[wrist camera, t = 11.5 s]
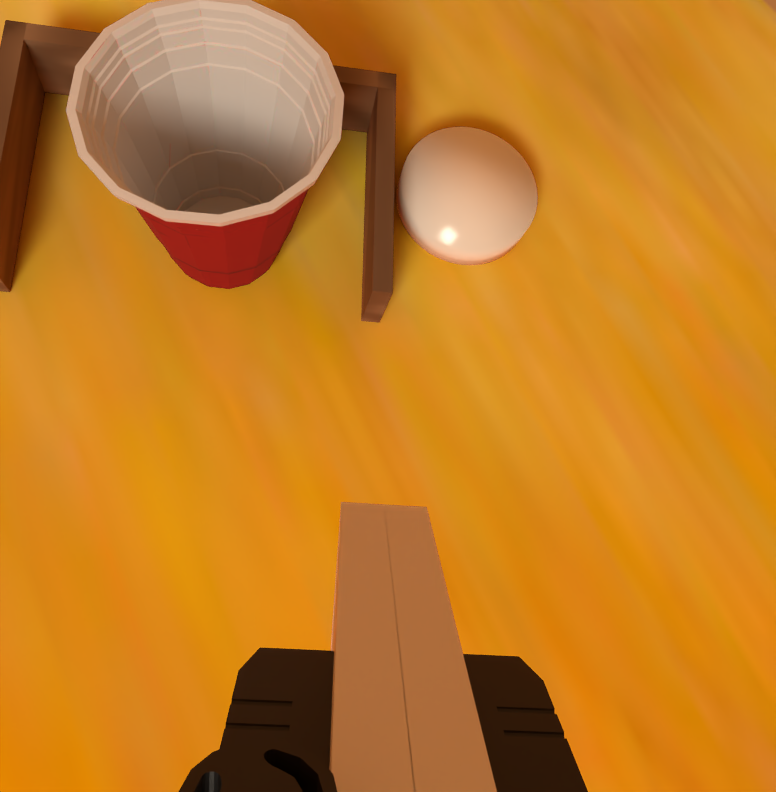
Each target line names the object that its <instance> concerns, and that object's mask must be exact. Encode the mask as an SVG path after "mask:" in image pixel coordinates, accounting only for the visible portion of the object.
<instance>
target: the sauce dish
mask: <svg viewBox="0 0 776 792" xmlns="http://www.w3.org/2000/svg"><path fill="white" fill-rule="evenodd" d="M537 200H538V194H537V186H536V182H535V179H534V176H533V174H532V171H531V169H530V168H529V166H528V164H527V163H526V161H525V160H524V158H523V157H522V156H521V155H520V154H519V152H518V151H517V150H516V149H515V148H513V147H512V146H511V145H510V144H509V143H507V142H506V141H505V140H503V139H501V138H500V137H498V136H496V135H494V134H492V133H489V132H487V131H484V130H481V129H477V128H471V127H450V128H444V129H441V130H438V131H435V132H433V133H431V134H429V135H427V136H426V137H424V138H423V139H421V140H420V141H419V142H418V143H417V144H416V145H415V146H414V147H413V149H412V150H411V151H410V153H409V155H408V156H407V159H406V161H405V163H404V166H403V169H402V172H401V175H400V178H399V181H398V185H397V191H396V204H397V209H398V213H399V216H400V219H401V221H402V223H403V225H404V227H405V229H406V230H407V232H408V233H409V235H410V236H411V237H412V238H413V239H414V241H415V242H416V243H417V244H419V245H420V246H421V247H422V248H423V249H425V250H426V251H427V252H429V253H430V254H432V255H434V256H436V257H437V258H440V259H442V260H445V261H448V262H451V263H455V264H461V265H480V264H485V263H489V262H492V261H494V260H497V259H499V258H501V257H502V256H504V255H505V254H507V253H508V252H509V251H510V250H511V249H512V248H513V247H514V246H515V245H516V244H517V243H518V241H519V240H520V238H521V237H522V236H523V234H524V233H525V232H526V230H527V229H528V227H529V226H530V224H531V222H532V221H533V219H534V216H535V213H536V208H537Z"/></svg>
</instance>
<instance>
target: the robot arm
mask: <svg viewBox="0 0 776 792" xmlns="http://www.w3.org/2000/svg"><path fill="white" fill-rule="evenodd" d="M179 792H588V791H587V788H586V786H585V783H584V781H583V779H582V776H581V774H580V771H579V769H578V766H577V764H576V761H575V759H574V756H573V754H572V751H571V749H570V746H569V744H568V741H567V739H564V731H563V729H562V726H561V724H560V721H559V719H558V716H557V714H555V713H554V706H553V704H552V701H551V699H550V696H549V694H548V691H547V689H546V686H545V684H544V681H543V680H542V679H541V678H540V677H539V676H538V675H537V674H536V673H535V672H534V671H533V670H532V669H531V668H530V667H529V666H528V665H527V664H526V663H525V662H524V661H523V660H522V659H521V658H520V657H517V656H495V655H473V654H463V652H462V648H461V644H460V640H459V636H458V632H457V628H456V624H455V620H454V616H453V612H452V608H451V604H450V600H449V596H448V592H447V587H446V583H445V579H444V575H443V571H442V567H441V563H440V559H439V555H438V551H437V547H436V543H435V539H434V535H433V531H432V527H431V523H430V519H429V515H428V511H427V507H417V506H400V505H383V504H365V503H348V502H341V512H340V526H339V540H338V555H337V569H336V583H335V597H334V611H333V625H332V639H331V651H323V650H301V649H279V648H259V649H258V650H257V651H256V653H255V654H254V655H253V656H252V657H251V658H250V659H249V660H248V661H247V662H246V663H245V664H244V665H243V667H242V668H241V669H240V670H239V671H238V676H237V680H236V684H235V688H234V692H233V696H232V703H231V704H230V708H229V712H228V717H227V721H226V728H225V729H224V733H223V737H222V741H221V745H220V749H219V750H217V751H214V752H212V753H211V754H210V755H209V756H207V757H206V758H205V759H204V760H202V761H201V762H200V763H199V764H197V765H196V766H195V767H194V768H192V769H191V771H190V772H189V774H188V776H187V778H186V780H185V781H184V783H183V785H182V787H181V789H180V790H179Z"/></svg>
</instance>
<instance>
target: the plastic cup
mask: <svg viewBox="0 0 776 792" xmlns="http://www.w3.org/2000/svg"><path fill="white" fill-rule="evenodd" d="M343 105H344V93H343V90H342V88H341V85H340V83H339V80H338V77H337V75H336V72H335V70H334V67H333V65H332V62H331V60H330V57H329V55H328V53H327V52H326V51H325V50H324V49H323V48H322V47H321V46H320V45H319V44H318V43H317V42H316V41H315V40H314V39H313V38H312V37H311V36H310V35H309V34H308V33H307V32H306V31H305V30H304V29H303V28H302V27H301V26H300V25H299V24H298V23H297V22H296V21H295V20H293V19H291V18H289V17H287V16H284V15H282V14H280V13H278V12H276V11H274V10H271V9H269V8H267V7H265V6H263V5H261V4H258V3H256V2H254V1H252V0H162V1H157V2H152V3H147V4H146V5H144V6H142V7H141V8H139V9H137V10H135V11H134V12H132V13H130V14H128V15H127V16H125V17H123V18H122V19H120V20H118V21H116V22H115V23H113V24H111V25H109V26H108V27H106V28H104V30H103V31H102V32H101V34H100V35H99V36H98V37H97V39H96V40H95V41H94V43H93V44H92V45H91V46H90V48H89V49H88V50H87V52H86V53H85V54H84V55H83V57H82V58H81V59H80V61H79V62H78V63H77V64H76V66H75V70H74V75H73V80H72V84H71V89H70V94H69V98H68V103H67V108H66V113H67V116H68V120H69V123H70V127H71V131H72V134H73V138H74V141H75V145H76V148H77V152H78V156H79V157H80V158H81V159H82V160H83V161H84V163H85V164H86V165H87V166H88V167H89V168H90V169H91V170H92V171H93V173H94V174H95V175H96V176H97V177H98V178H99V179H100V180H101V182H102V183H103V184H104V185H105V186H106V187H107V188H108V189H109V191H110V192H111V193H112V194H113V195H114V196H116V197H117V198H119V199H121V200H123V201H125V202H127V203H129V204H131V205H133V206H135V207H136V208H137V210H138V211H139V213H140V214H141V216H142V217H143V219H144V220H145V222H146V223H147V224H148V226H149V227H150V229H151V230H152V232H153V233H154V235H155V236H156V237H157V239H158V240H159V241H160V242H161V243H162V244H163V245H164V247H165V248H166V250H167V251H168V253H169V254H170V256H171V258H172V259H173V260H174V261H175V262H176V263H177V265H178V266H179V267H180V268H181V269H182V270H183V271H184V273H185V274H186V275H188V276H189V277H191V278H193V279H195V280H197V281H199V282H201V283H203V284H204V285H206V286H209V287H218V288H226V289H231V288H235V287H239V286H243V285H247V284H250V283H251V282H253V281H254V280H256V279H257V278H258V277H260V276H261V275H263V274H264V273H265V272H266V271H267V270H269V268H270V266H271V265H272V263H273V261H274V260H275V258H276V256H277V255H278V253H279V251H280V249H281V246H282V244H283V243H284V241H285V239H286V238H287V236H288V234H289V233H290V231H291V228H292V226H293V224H294V221H295V219H296V217H297V214H298V212H299V210H300V208H301V205H302V203H303V201H304V198H305V196H306V194H307V191H308V189H309V188H310V187H311V186H312V185H314V184H315V182H316V180H317V179H318V177H319V175H320V174H321V172H322V170H323V169H324V167H325V165H326V164H327V162H328V160H329V159H330V157H331V155H332V154H333V152H334V150H335V149H336V147H337V145H338V143H339V141H340V139H341V130H342V118H343Z"/></svg>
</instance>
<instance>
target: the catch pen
mask: <svg viewBox="0 0 776 792" xmlns="http://www.w3.org/2000/svg"><path fill="white" fill-rule="evenodd" d="M100 34H101V33H96V32H88V31H81V30H74V29H67V28H59V27H52V26H45V25H38V24H31V23H23V22H16V21H9V20H6V21H5V26H4V31H3V36H2V41H1V46H0V291H6V292H10V289H11V283H12V278H13V272H14V266H15V261H16V255H17V249H18V243H19V238H20V232H21V226H22V221H23V215H24V209H25V203H26V198H27V192H28V186H29V181H30V175H31V169H32V163H33V158H34V152H35V146H36V141H37V135H38V129H39V123H40V118H41V112H42V106H43V101H44V95H45V92H48V93H56V94H64V95H69V94H70V89H71V84H72V80H73V75H74V70H75V66H76V64H77V63H78V62H79V61H80V59H81V58H82V57H83V55H84V54H85V53H86V52H87V50H88V49H89V48H90V46H91V45H92V44H93V43H94V41H95V40H96V39H97V37H98V36H99V35H100ZM333 67H334V70H335V72H336V75H337V77H338V80H339V83H340V85H341V88H342V90H343V93H344V105H343V118H342V129H344V130H352V131H360V132H367V147H366V181H365V215H364V248H363V282H362V316H361V321H369V322H380V320H381V318H382V315H383V313H384V311H385V309H386V306H387V304H388V302H389V300H390V297H391V295H392V292H393V233H394V175H395V116H396V74H391V73H384V72H377V71H370V70H363V69H355V68H348V67H341V66H334V65H333Z"/></svg>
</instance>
